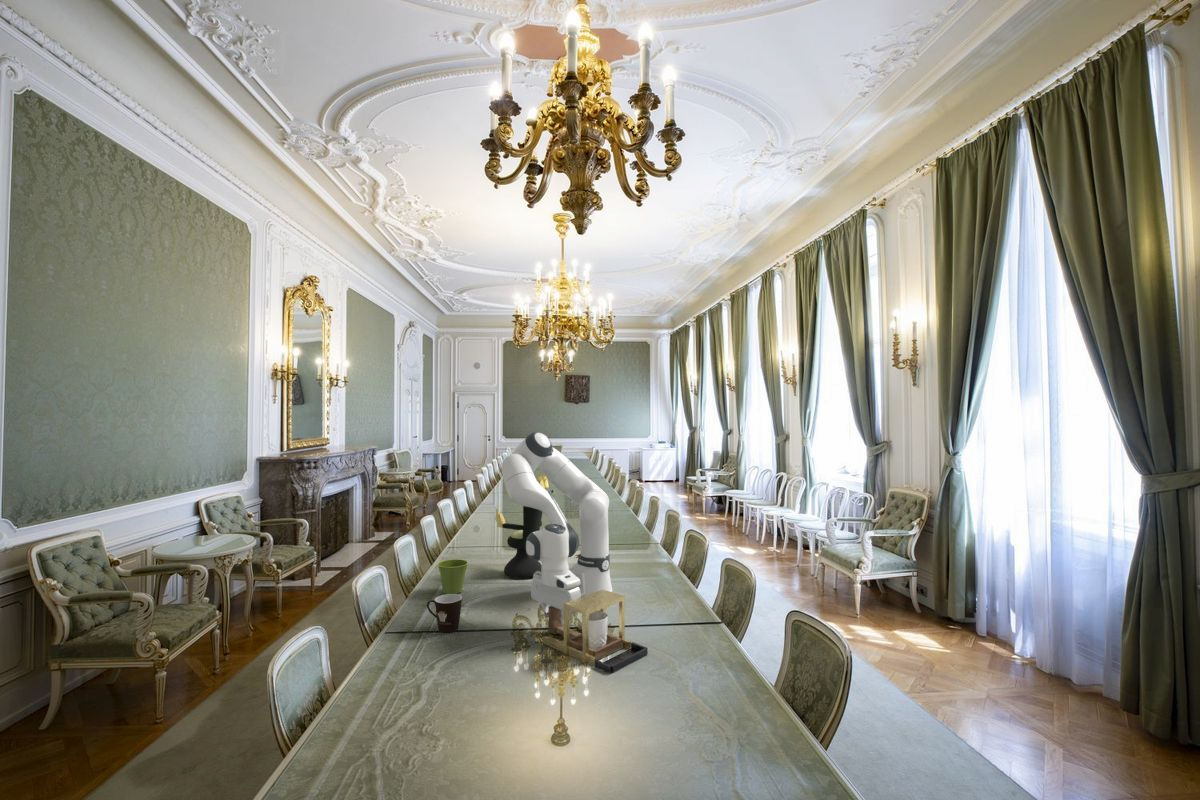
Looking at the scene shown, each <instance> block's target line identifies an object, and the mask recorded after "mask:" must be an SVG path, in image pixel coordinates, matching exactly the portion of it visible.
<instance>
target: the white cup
mask: <svg viewBox="0 0 1200 800" xmlns="http://www.w3.org/2000/svg"><path fill="white" fill-rule="evenodd" d="M608 620H609V615H608V614H607V612H606V613H604V612H601V611H600V610H598V611H596V612H593V613H591V614H589V648H592V649H594V650H597V649H599V648H601V647H603V646H605V645H607V643H606V641H607V632H608V625H609V624H608V622H609V621H608ZM581 623H582V631H581V634H583V614H581Z"/></svg>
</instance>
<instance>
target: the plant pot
mask: <svg viewBox="0 0 1200 800" xmlns="http://www.w3.org/2000/svg"><path fill="white" fill-rule="evenodd" d="M468 564H469V561H468V560H465V559H462V558H460V559H459V558H454V559H453V558H451V559H446V560H441V561H439V562H437V564H436V565H437V567H438V570H439V573H440V581H441V588H442V593H443V594H459V593H462V592H463V587H464V582H465V575H466V570H467V568H468Z"/></svg>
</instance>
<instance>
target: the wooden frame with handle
mask: <svg viewBox="0 0 1200 800" xmlns="http://www.w3.org/2000/svg"><path fill="white" fill-rule="evenodd" d="M561 616H562V613H561V610H560V609H558V608H555V607H552V606H550V605H548V618H547V623H548V624H547V626H548V627H547V631H548V633H551V634H553V635H556V634H559V635H561V636H564V626H562V625H563V624H562V623H560V622H559V617H561ZM608 633H609V632H608ZM608 633H607V641H606V645H605V646H603V647H601V648H599V649H597V650H594V649H592V648H589V655H591V656H594V657H596V658H597V660H599V661H600V660H601V659H602V658H605V657H607V656H608V655H611V654H613V653H615V652H617V651H619V650H621V649H623V648H624V647H623V639H621V638H618V637H619V636H618V637H616V636H617V635H616V636H613V635H614V634H613V635H610V634H611V633H610V634H608ZM569 646H570V647H573V648H575V649H577V650H580V651H582V652H583V634H582V633H579V632H577V631H575V630H572V629H570V636H569Z"/></svg>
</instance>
